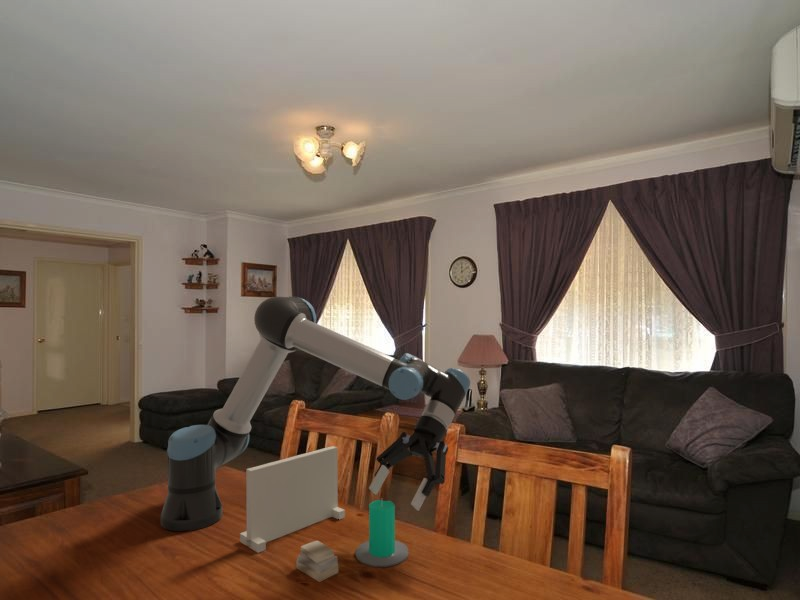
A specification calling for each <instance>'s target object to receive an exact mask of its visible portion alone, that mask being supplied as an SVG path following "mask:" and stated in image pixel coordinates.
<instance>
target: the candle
mask: <svg viewBox="0 0 800 600" xmlns="http://www.w3.org/2000/svg"><path fill="white" fill-rule="evenodd" d="M368 508H369V509H368V517H369V518H368V523H369V524H368V526H369V527H368V535H369V536H368V541H369V553H370V554H371V555H372V556H376V557H387V556H391V555H392V554H393V553H394V552H395V540H396V514H395V513H396V505H395V504H394V502H392V501H391V500H383V499H376V500H373V501H371V502H370V503H369V504H368Z"/></svg>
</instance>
